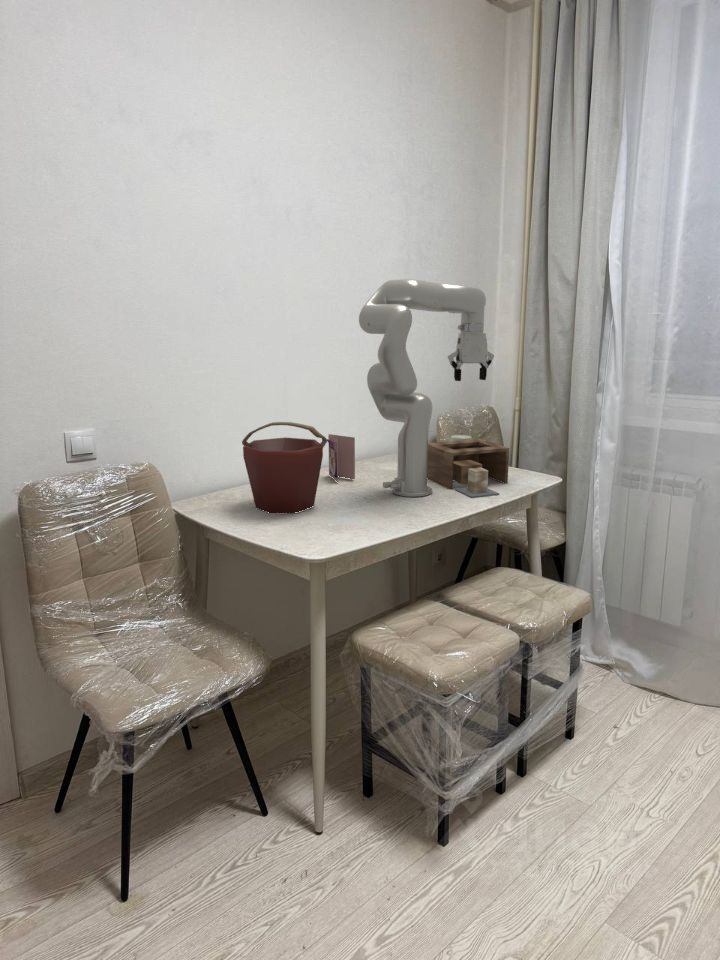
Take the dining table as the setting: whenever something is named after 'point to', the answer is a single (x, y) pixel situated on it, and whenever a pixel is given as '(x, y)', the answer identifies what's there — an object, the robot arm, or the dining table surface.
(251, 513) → the dining table surface
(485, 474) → the birch block
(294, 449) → the bucket
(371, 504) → the dining table surface
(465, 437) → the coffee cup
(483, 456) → the slot box
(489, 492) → the slate mat
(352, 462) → the greeting card
